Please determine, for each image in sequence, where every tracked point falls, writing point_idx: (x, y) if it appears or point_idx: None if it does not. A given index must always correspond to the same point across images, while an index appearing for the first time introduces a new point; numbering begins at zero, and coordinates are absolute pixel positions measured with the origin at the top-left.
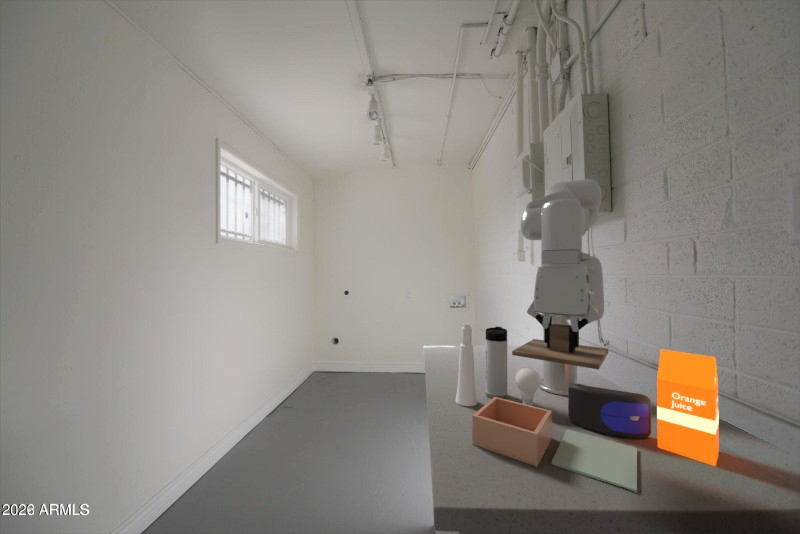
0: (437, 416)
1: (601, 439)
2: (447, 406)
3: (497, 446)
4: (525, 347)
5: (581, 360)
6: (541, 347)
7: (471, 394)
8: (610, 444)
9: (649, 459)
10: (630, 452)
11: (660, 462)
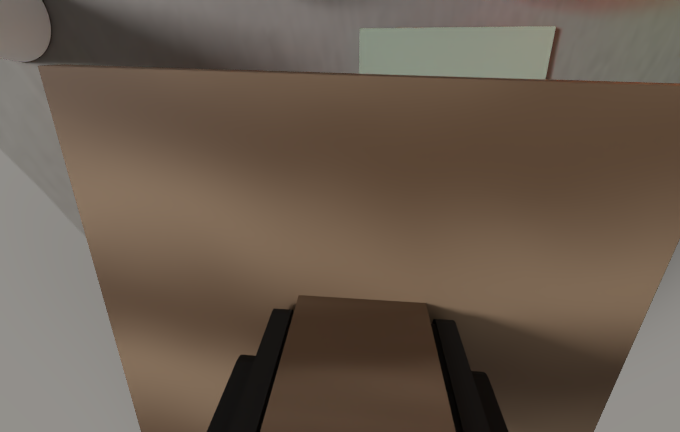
0: (42, 181)
1: (460, 35)
2: (4, 99)
3: None
4: (163, 395)
5: None
6: (235, 348)
7: (9, 36)
8: (483, 55)
9: (574, 64)
10: (531, 71)
11: (599, 63)
